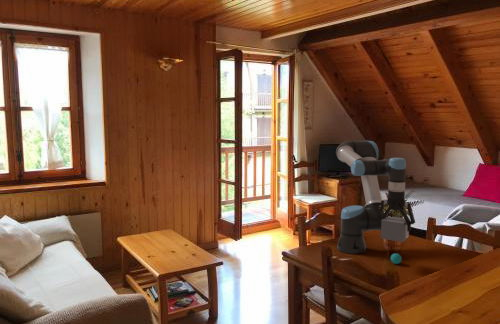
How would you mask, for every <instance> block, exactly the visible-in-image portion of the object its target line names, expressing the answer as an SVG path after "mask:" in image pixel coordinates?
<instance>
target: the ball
mask: <svg viewBox="0 0 500 324" xmlns="http://www.w3.org/2000/svg"><path fill="white" fill-rule="evenodd" d="M390 261H391V263H393V264H394V265H398V264H400V263H401V262H402V256H401V255H400V254H399V253H392V254H391V255H390Z"/></svg>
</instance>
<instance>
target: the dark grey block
mask: <svg viewBox="0 0 500 324" xmlns="http://www.w3.org/2000/svg"><path fill="white" fill-rule="evenodd" d="M406 224H407V223H406V221H405V219H404V217H399V216H398V217H397V216H392V217H391V216H388V217H386V218H384V219H383V220H381V230H380V239H382V240H389V241H394V242H395V241H396V242H401V243H403V242H405V240H407V239H406V238H405V227H406ZM409 237H410V232H409V231H408V238H409Z"/></svg>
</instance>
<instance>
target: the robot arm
mask: <svg viewBox="0 0 500 324" xmlns="http://www.w3.org/2000/svg"><path fill="white" fill-rule="evenodd" d="M378 147H379V146H378V145H377V144H376V142H375V141H372V140H346V141H344V142H340V144H339V145H338V146H337V147H336V151H335V155H336V157H337V159H338V160H339V161H340V162H341V163H345V164H347V165H348V167H350V171H351V174H352V175H353V176H356V177H357V176H358V177H360V178H361V179H360V180H361V183H362V189H363V194H364V199H365V205H364V206H362V205H355V204H354V205H349V206H346V207H343V208H342V209H341V215H340V236H339V238H338V242H337V248H336V249H337V250H338V251H340V252H342V253H345V254H351V255H352V254H353V255H355V254H356V255H357V254H363V253H365V252H366V251H367V245H366V242H365V239H364V231H381V220H383V219H384V218H386V216H387V215H388V213H389V212H390V210H391V211H392V210H393V211H399V212H400V214H401V216H402V218H404V219H405V221H406V223H407V224H406V227H405V238H406V240H407V239H408V238H409V237H408V231H409V233H410V232H411V230H412V229H411V228H412V225H414V224H415V223H416V219H415V215H414V212H413V208H412V202H406V200H405V198H406V196H405V195H406V191H405V190H406V172H407V169H406V168H407V161H406V159H405V158H403V157H391V158H387V159H385V158H384V159H380V160H378V159H379V155H380V154H379V148H378ZM378 176H388V188H387V189H388V191H387V192H388V193H387V199H386V200H385V199H382V195H381V190H380V186H379V185H380V184H379V181H378V180H379V179H378ZM385 204H386V205H388V207H387V208H388V209H387V210H386V212H385V213H383V209H384V207H385ZM380 205H381V207H379V206H380ZM405 207H406V209H407V212H408V214H407V213H406V211H405ZM379 208H380V209H379Z"/></svg>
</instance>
